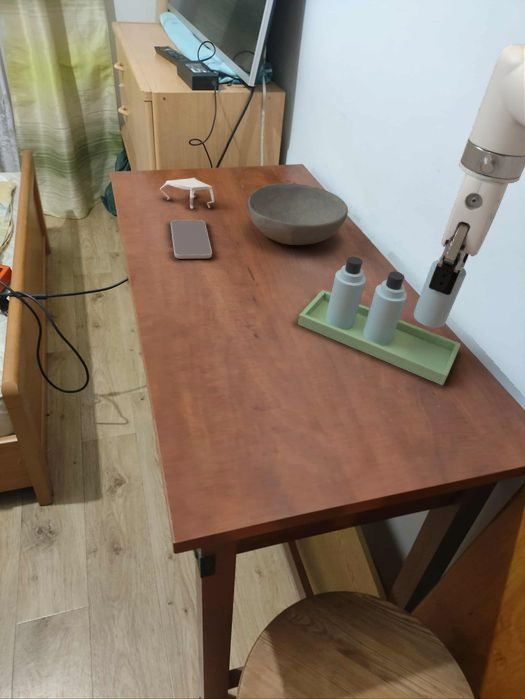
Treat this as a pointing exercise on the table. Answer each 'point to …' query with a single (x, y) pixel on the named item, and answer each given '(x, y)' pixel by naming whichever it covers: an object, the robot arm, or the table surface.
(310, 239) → the bowl
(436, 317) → the loose bottle
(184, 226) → the smartphone
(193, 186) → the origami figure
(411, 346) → the tray
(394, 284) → the row bottle middle
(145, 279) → the table surface
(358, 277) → the row bottle back
